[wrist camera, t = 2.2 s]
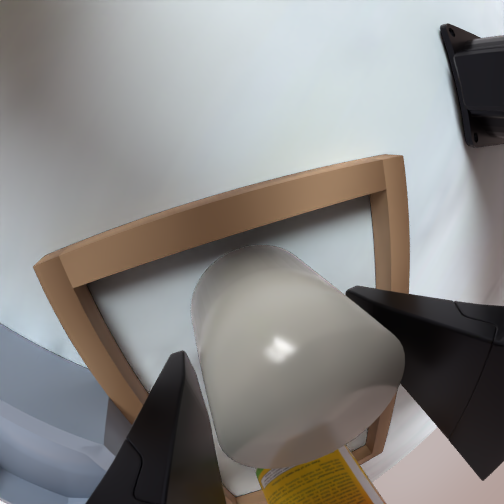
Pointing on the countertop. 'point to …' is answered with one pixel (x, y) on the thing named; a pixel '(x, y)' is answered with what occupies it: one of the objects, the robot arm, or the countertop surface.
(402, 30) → the countertop surface
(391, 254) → the wooden frame
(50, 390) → the bowl
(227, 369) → the white rounded cylinder
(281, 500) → the supplement bottle
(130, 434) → the robot arm
